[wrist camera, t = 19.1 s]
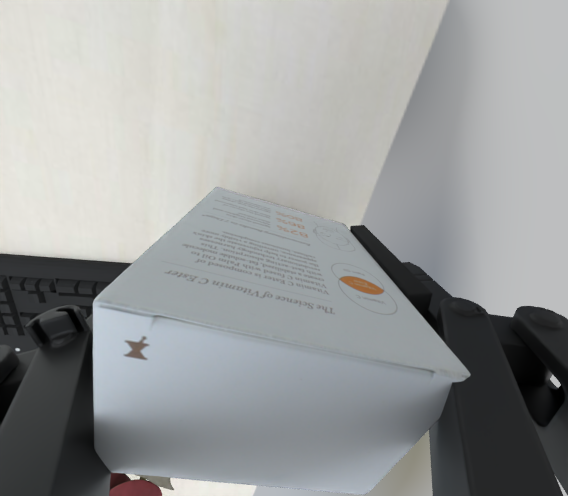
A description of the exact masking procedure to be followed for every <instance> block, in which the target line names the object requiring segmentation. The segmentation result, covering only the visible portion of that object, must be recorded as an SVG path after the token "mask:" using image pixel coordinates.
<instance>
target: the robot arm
mask: <svg viewBox="0 0 568 496" xmlns="http://www.w3.org/2000/svg"><path fill="white" fill-rule="evenodd" d="M350 232H351V233H352V234H353V235H354V236H355V237H356V239H357V240H358V241H359V242H360V243H361V245H362V246H363V247H364V248H365V249H366V250H367V252H368V253H369V254H370V255H371V256H372V257H373V259H374V260H375V261H376V262H377V263H378V264H379V266H380V267H381V268H382V269H383V270H384V272H385V273H386V274H387V275H388V276H389V277H390V279H391V280H392V281H393V282H394V283H395V284H396V286H397V287H398V288H399V289H400V291H401V292H402V293H403V294H404V295H405V296H406V298H407V299H408V300H409V301H410V302H411V304H412V305H413V306H414V307H415V308H416V309H417V311H418V312H419V313H420V314H421V315H422V316H423V318H424V319H425V320H426V321H427V322H428V324H429V325H430V326H431V327H432V328H433V329H434V331H435V332H436V333H437V334H438V335H439V337H440V338H441V339H442V340H443V341H444V343H445V344H446V345H447V347H448V348H449V349H450V350H451V351H452V352H453V353H454V354H455V356H456V357H457V358H458V359H459V360H460V361H461V363H462V364H463V365H464V366H465V367H466V369H467V370H468V371H469V373H470V374H471V375H470V377H468V378H466V379H465V380H464V381H461V382H452V385H451V388H450V391H449V394H448V397H447V400H446V403H445V405H444V408H443V411H442V414H441V416H440V418H439V419H438V420H437V421H436V422H435V423H434V425H433V426H432V427H431V428H430V429H429V435H430V436H429V437H430V454H431V468H432V469H431V470H432V488H433V496H563V494H562V492H561V489H560V487H559V484H558V482H557V479H558V480H559V482H560V483H561V485H562V487H563V488H564V490H565V492H566V493H567V495H568V319H567V318H565V317H563V316H561V315H559V314H557V313H555V312H553V311H551V310H548V309H547V310H546V309H545V308H540V307H533V306H521V307H519V308H517V310H516V312H515V314H514V316H513V317H505V316H498V315H490V314H488V313H487V312H486V310H485V309H484V308H482V307H481V306H479V305H478V304H476V303H474V302H472V301H469V300H466V299H462V298H456V297H452V296H451V295H450V294H449V293H448V292H446V291H445V290H444V289H443V288H442V287H441V286H440V285H438V284H437V283H436V282H435V281H433V279H432V278H431V277H430V276H429V275H427V274H426V273H425V272H424V271H423V270H422V269H421V268H420V267H418V266H416V265H414V264H412V263H410V262H405V263H401V262H400V261H399V260H398V259H397V258H396V257H395V256H394V255H393V254H392V253H391V252H390V251H389V250H388V249H387V248H386V247H385V246H384V245H383V244H382V243H381V242H380V241H379V240H378V239H377V238H376V237H375V236H374V235H373V234H372V233H371V232H370V231H369V230H368V229H367V228H366V227H365V226H364V225H361V226H351V230H350ZM25 329H26V330H27V332H28V333H29V334H30V336H31V337H32V339H33V340H34V342H35V343H36V345H37V346H38V349H35V350H31V351H27V352H24V353H20V354H17V355H16V354H15V353H14V351H13V350H12V349H11V347H10V346H8V345H5V344H4V345H0V496H109V492H110V478H111V472H110V471H109V469H108V468H107V467H106V465H105V464H104V463H103V461H102V460H101V458H100V457H99V456H98V454H97V453H96V451H95V449H94V402H93V313H92V314H91V315H90V316H89V317H88V318H87V319H86V320H85V318H84V316H83V314H82V312H81V310H80V308H79V307H78V306H76V305H65V306H60V307H57V308H54V309H51V310H48V311H46V312H44V313H42V314H40V315H38V316H37V317H35V318H34V319H32V320H31V321H30V322H29V323H28V324H27V325H26V326H25ZM552 374H553V375H554V376H555V377H556V378H557V379H558V381H559V382H560V384H561V386H560V387H559V388H557V387H556V386H555V385H554V384H553V383H552V382H551V380H550V378H551V376H552ZM555 476H556V477H557V479H556V477H555Z"/></svg>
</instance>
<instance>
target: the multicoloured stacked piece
mask: <svg viewBox="0 0 568 496" xmlns="http://www.w3.org/2000/svg"><path fill="white" fill-rule="evenodd" d="M135 475H137V474H135ZM138 476H140V480H130V478H129V477H128V476H127V475H126V474H125V473H113V472H111V478H110V492H109V496H162V492H161V490H160V488H159V487H158V486H160V487H163V488H167V489H171V490H174V489H173V487H172V485H171V483H170V477H162V476H148V475H138ZM146 479H147V480H149V481H147V480H146Z"/></svg>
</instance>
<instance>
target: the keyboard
mask: <svg viewBox="0 0 568 496" xmlns="http://www.w3.org/2000/svg"><path fill="white" fill-rule="evenodd" d="M130 265H131V264H129V263H116V262H102V261H88V260H75V259H61V258H48V257H34V256H21V255H7V254H0V345H4V344H5V345H8V346H10V347H11V349H12V350H13V351H14V353H15V354H16V355H17V354H20V353H24V352H27V351H31V350H35V349H38V346H37V345H36V343H35V342H34V340H33V339H32V337H31V336H30V334H29V333H28V332H27V330H26V329H25V326H26V325H27V324H28V323H29V322H30V321H31V320H32V319H34V318H35V317H37V316H38V315H40V314H42V313H44V312H46V311H48V310H51V309H54V308H57V307H60V306H65V305H76V306H78V307H79V308H80V310H81V312H82V314H83V316H84V318H85V320H86V319H87V318H88V317H89V316H90V315H91V314H92V313H93V301H94V299H95V298H96V297H97V296H98V295H99V294H100V293H101V292H102V291H103V290H104V289H105V288H106V287H107V286H108V285H110V284H111V283H112V282H113V281H114V280H115V279H116V278H117V277H118V276H119V275H120V274H121V273H123V272H124V271H125V270H126V269H127V268H128V267H129V266H130Z"/></svg>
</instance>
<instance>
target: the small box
mask: <svg viewBox="0 0 568 496" xmlns="http://www.w3.org/2000/svg"><path fill="white" fill-rule="evenodd" d="M470 375H471V374H470V373H469V371H468V370H467V369H466V367H465V366H464V365H463V364H462V363H461V361H460V360H459V359H458V358H457V357H456V356H455V354H454V353H453V352H452V351H451V350H450V349H449V348H448V347H447V345H446V344H445V343H444V341H443V340H442V339H441V338H440V337H439V335H438V334H437V333H436V332H435V331H434V329H433V328H432V327H431V326H430V325H429V324H428V322H427V321H426V320H425V319H424V318H423V316H422V315H421V314H420V313H419V312H418V311H417V309H416V308H415V307H414V306H413V305H412V304H411V302H410V301H409V300H408V299H407V298H406V296H405V295H404V294H403V293H402V292H401V291H400V289H399V288H398V287H397V286H396V284H395V283H394V282H393V281H392V280H391V279H390V277H389V276H388V275H387V274H386V273H385V272H384V270H383V269H382V268H381V267H380V266H379V264H378V263H377V262H376V261H375V260H374V259H373V257H372V256H371V255H370V254H369V253H368V252H367V250H366V249H365V248H364V247H363V246H362V245H361V243H360V242H359V241H358V240H357V239H356V237H355V236H354V235H353V234H352V233H351V232H350V230H349V229H348V228H347V227H346V225H345V224H343V223H339V222H335V221H332V220H328V219H325V218H321V217H318V216H314V215H311V214H308V213H304V212H301V211H298V210H294V209H291V208H287V207H284V206H280V205H277V204H274V203H270V202H267V201H264V200H260V199H256V198H253V197H249V196H246V195H243V194H239V193H236V192H233V191H229V190H226V189H223V188H220V187H216V188H214V189H213V190H212V191H211V192H210V193H209V194H208V195H207V196H206V197H205V198H204V199H203V200H202V201H201V202H199V203H198V204H197V205H196V206H195V207H194V208H193V209H192V210H191V211H190V212H189V213H188V214H187V215H186V216H184V217H183V218H182V219H181V220H180V221H179V222H178V223H177V224H176V225H174V226H173V227H172V228H171V229H170V230H169V231H168V232H167V233H165V234H164V235H163V236H162V237H161V238H160V239H159V240H158V241H157V242H155V243H154V244H153V245H152V246H151V247H150V248H149V249H148V250H146V251H145V252H144V253H143V254H142V255H141V256H140V257H139V258H138V259H137V260H136V261H135V262H134V263H132V264H131V265H130V266H129V267H128V268H127V269H126V270H125V271H124V272H123V273H121V274H120V275H119V276H118V277H117V278H116V279H115V280H114V281H113V282H112V283H111V284H110V285H108V286H107V287H106V288H105V289H104V290H103V291H102V292H101V293H100V294H99V295H98V296H97V297H96V298H95V299H94V301H93V402H94V449H95V451H96V453H97V454H98V456H99V457H100V458H101V460H102V461H103V463H104V464H105V465H106V467H107V468H108V469H109V471H110V472H113V473H125V474H137V475H148V476H162V477H170V478H181V479H191V480H201V481H212V482H224V483H235V484H246V485H257V486H268V487H280V488H281V487H282V488H292V489H303V490H312V491H325V492H336V493H346V494H356V495H357V494H358V495H365V494H367V493H368V492H369V491H370V490H371V489H372V488H373V487H374V486H376V485H377V483H379V481H381V480H382V478H383V477H384V476H385V475H386V474H387V473H388V472H389V471H390V470H391V469H392V468H393V466H395V464H397V462H398V461H399V460H400V459H401V458H402V457H403V456H404V455H405V454H406V453H407V452H408V451H409V450H410V449H411V447H413V446H414V445H415V444H416V443H417V441H418V440H419V439H420V438H421V437H422V436H423V435H424V434H425V433H426V432H427V431H428V430H429V429H430V428H431V427H432V426H433V425H434V423H435V422H436V421H437V420H438V419H439V418H440V416H441V414H442V411H443V408H444V405H445V403H446V400H447V397H448V394H449V391H450V388H451V385H452V382H461V381H464V380H465V379H466V378H468V377H470Z"/></svg>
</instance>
